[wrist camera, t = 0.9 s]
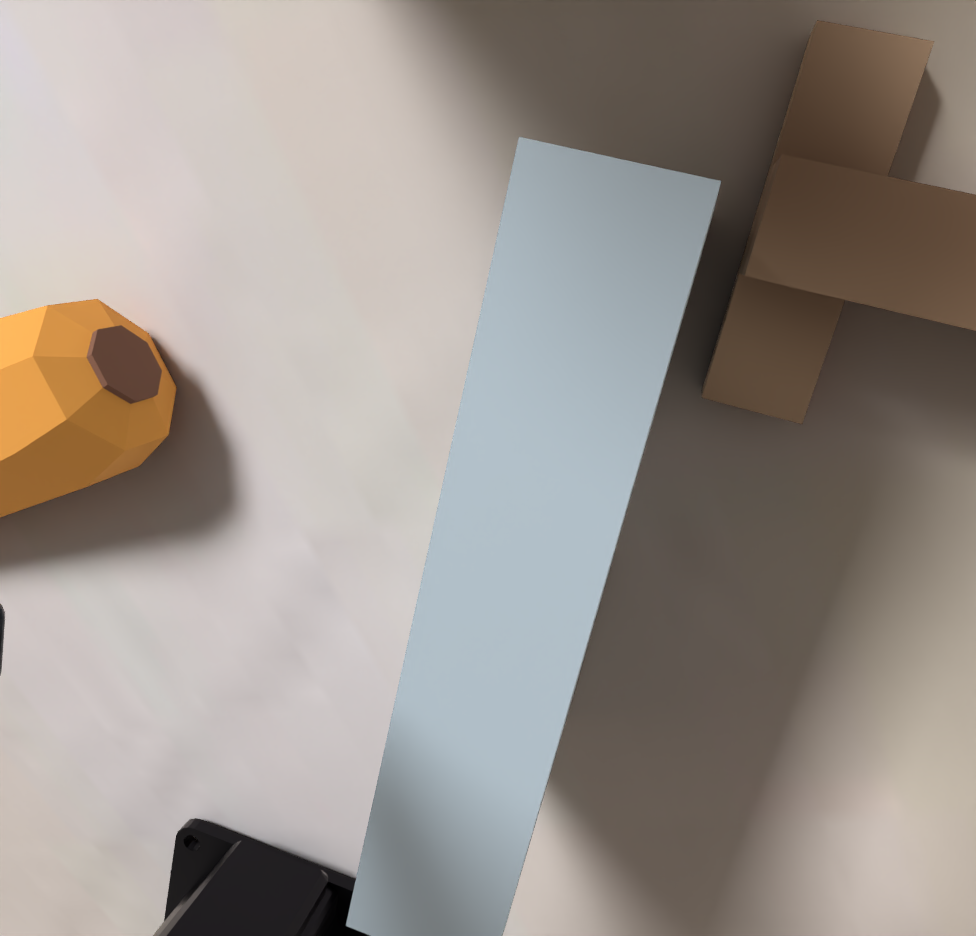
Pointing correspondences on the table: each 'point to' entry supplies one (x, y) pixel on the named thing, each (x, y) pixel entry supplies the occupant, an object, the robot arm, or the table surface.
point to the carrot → (76, 400)
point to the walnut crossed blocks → (840, 226)
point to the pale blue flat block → (526, 527)
